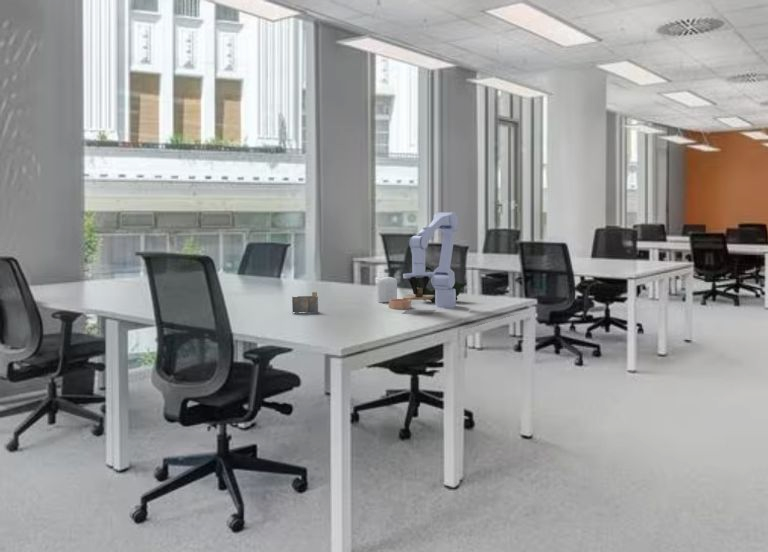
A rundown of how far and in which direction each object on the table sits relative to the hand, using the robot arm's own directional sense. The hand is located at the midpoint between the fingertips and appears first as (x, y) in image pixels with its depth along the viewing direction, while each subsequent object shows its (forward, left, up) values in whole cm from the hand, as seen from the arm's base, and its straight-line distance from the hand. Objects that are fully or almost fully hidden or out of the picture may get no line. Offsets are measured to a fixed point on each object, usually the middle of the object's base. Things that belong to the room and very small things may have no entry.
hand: (419, 294), depth 302 cm
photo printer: (+22, -35, -9) cm, 42 cm away
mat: (0, 0, -8) cm, 9 cm away
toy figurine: (-4, -39, -9) cm, 40 cm away
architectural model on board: (+51, +5, -9) cm, 52 cm away
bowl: (+11, -12, -8) cm, 18 cm away
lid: (0, 0, -2) cm, 2 cm away
